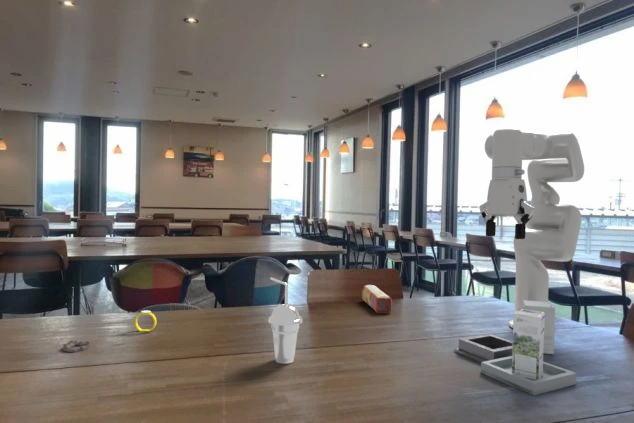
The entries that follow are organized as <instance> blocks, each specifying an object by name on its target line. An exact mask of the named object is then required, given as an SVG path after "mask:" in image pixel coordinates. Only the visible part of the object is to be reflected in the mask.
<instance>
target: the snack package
mask: <svg viewBox="0 0 634 423" xmlns="http://www.w3.org/2000/svg"><path fill="white" fill-rule="evenodd" d="M361 299H362V300H363V302H365V303H366V304H367V306H370V308H372V309H373V310H374V311H375V313H377V314H378V313H385V314H390V313H391V312H392V309H393V300H392V298H391V297H390V295H387V294H386V293H385V292H384V291H382V290H381V289H380V288H379V287H377V286H376V285H373V284H366V285H364V286H363V287H362V289H361Z"/></svg>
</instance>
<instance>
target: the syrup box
mask: <svg viewBox="0 0 634 423" xmlns="http://www.w3.org/2000/svg"><path fill="white" fill-rule="evenodd" d="M512 320H513V328H512V341H513V353H512V373H515V374H517V375H520V376H522V377H525V378H527V379H530V380H538V379H540V378H541V376H542V375H543V361H544V353H543V347H544V324H545V313H544V312H539V311H532V310H525V309H517V310H516V311H515V310H514V312H513V319H512Z"/></svg>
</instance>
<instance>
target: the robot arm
mask: <svg viewBox="0 0 634 423" xmlns="http://www.w3.org/2000/svg"><path fill="white" fill-rule="evenodd" d="M580 146H581V145H580V143H579V141H578V138H577V137H576V135H575V133H573V132H571V131H561V132H560V131H558V132H557V131H556V132H544V133H543V132H536V131H530V130H522V129H519V128H515V127H514V128H513V127H507V128H506V127H505V128H500V129H496V130H495V131H494V132H493V133H492V134H490V135H489V136H488V137H486V140H485V142H484V152H485V154H486V156H487V157H488V158H489V159H491V160H492V161H491V179H490V181H489V184H488V189H487V198H486V201H485V202H484V203H483V204H481V205H479V210H480V213H481V217H482V218H483V222H485V236H486V237H495V236H496V234H497V233H496V231H497V228H496V226H497V225H496V224H497V223H496V221H495V220H496V219H497V217H513V218H514V219H515V221H516V223H515V226H514V236H513V249H514V250H513V251H514V256H515V285H514V286H515V289H514V290H515V291H514V292H515V293H514V312H515V311H516V310H517V309H523V300H527V301H541V302H549V280H550V277H549V275H550V274H549V272H548V270H547V268H546V266H545V265H544V263H542V261H551V262H563V263H564V262H570V261H571V260H572V259H574V256H575V253H576V249H577V245H578V240H579V235H580V230H581V225H582V214H581V212H580V210H579V208H578V207H576V206H575V205H572V204H560V200H561V198H560V197H561V196H560V195H559V192H557V190H555V189H554V187H552V186H551V185H550V184H549V183H575V182H579V181H581V180H582V179H583V177H584V174H585V163H584V159H583V155H582V151H581V147H580ZM523 161H530V162H529V164H528V165H527V169H526V170H527V181H528V185H529V188H530V192H531V200H530V203H529V202H528V195H527V188H526V187H527V185H526V182H525V179H523V178H522V177H523V175H525V173H526V172H525V169H523ZM555 320H556V316H555ZM508 322H509V323H508V325H509V327H510V328H512V329H513V319H512V320H509V321H508Z"/></svg>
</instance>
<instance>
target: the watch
mask: <svg viewBox="0 0 634 423" xmlns="http://www.w3.org/2000/svg"><path fill="white" fill-rule="evenodd" d="M141 315H143V316H146V315H147V316H150V317H152V319H153V326H152V327H151V328H150V329H149V328H147V329H146V328H145V329H142V328H141V327H140V326H139V324H138V318H139V317H140V316H141ZM157 323H158V322H157V317H156V315H155V314H154V313H153V312H152V311H151V310H148V309H147V310H141V311H140V313H138V314H137V315H136V317H135V318H134V326H135V329H136V330H137V331H139V332H148V333H149V332H152V331H153V330H154V329H155V328H156V325H157Z"/></svg>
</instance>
